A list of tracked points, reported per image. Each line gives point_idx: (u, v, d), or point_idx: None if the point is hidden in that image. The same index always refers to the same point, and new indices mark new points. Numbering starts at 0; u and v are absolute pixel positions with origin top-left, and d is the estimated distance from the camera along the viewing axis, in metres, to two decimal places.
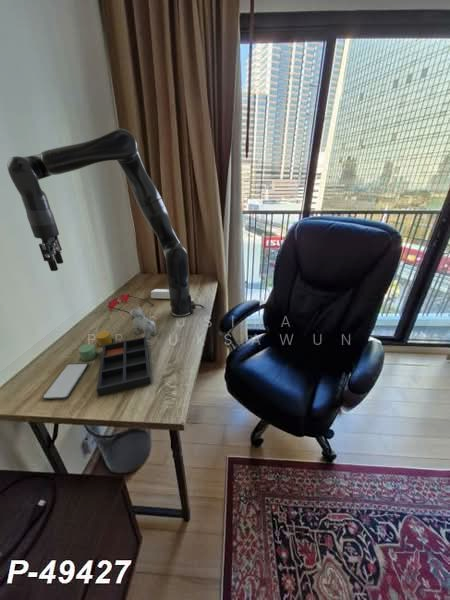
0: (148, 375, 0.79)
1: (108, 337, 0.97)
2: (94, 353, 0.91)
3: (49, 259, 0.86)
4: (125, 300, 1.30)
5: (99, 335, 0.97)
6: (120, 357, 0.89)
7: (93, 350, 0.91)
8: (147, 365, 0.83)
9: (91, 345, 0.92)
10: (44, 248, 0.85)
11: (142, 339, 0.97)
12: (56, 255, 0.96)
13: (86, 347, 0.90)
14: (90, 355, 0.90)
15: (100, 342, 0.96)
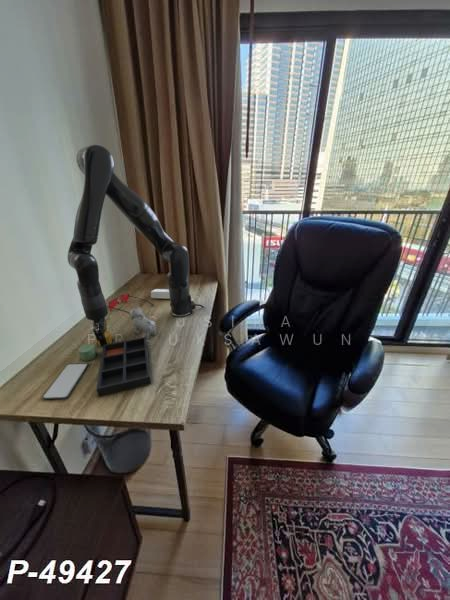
0: (148, 375, 0.79)
1: (108, 337, 0.97)
2: (94, 353, 0.91)
3: (101, 339, 0.93)
4: (125, 300, 1.30)
5: None
6: (120, 357, 0.89)
7: (93, 350, 0.91)
8: (147, 365, 0.83)
9: (91, 345, 0.92)
10: (98, 333, 0.90)
11: (142, 339, 0.97)
12: (102, 331, 1.00)
13: (86, 347, 0.90)
14: (90, 355, 0.90)
15: None
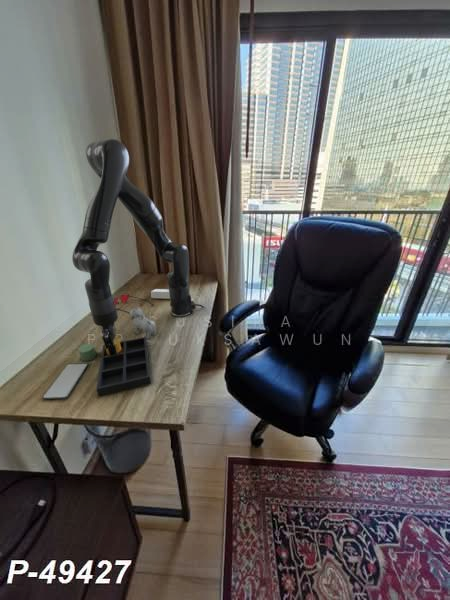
0: (148, 375, 0.79)
1: (117, 344, 0.89)
2: (94, 353, 0.91)
3: (111, 347, 0.84)
4: (125, 300, 1.30)
5: None
6: (120, 357, 0.89)
7: (93, 350, 0.91)
8: (147, 365, 0.83)
9: (91, 345, 0.92)
10: (107, 340, 0.82)
11: (142, 339, 0.97)
12: None
13: (86, 347, 0.90)
14: (90, 355, 0.90)
15: None
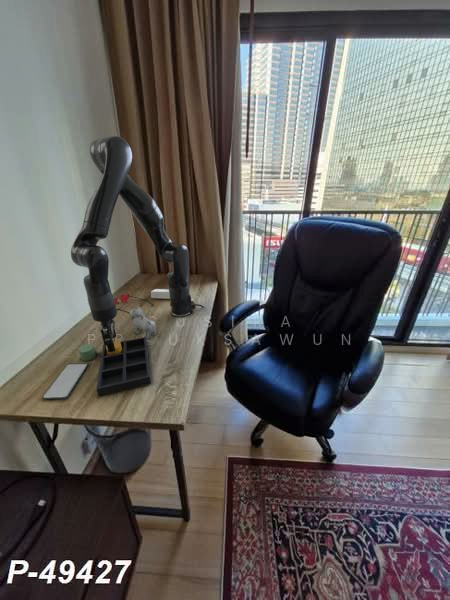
0: (148, 375, 0.79)
1: (119, 348, 0.90)
2: (94, 353, 0.91)
3: (109, 343, 0.82)
4: (125, 300, 1.30)
5: None
6: (120, 357, 0.89)
7: (93, 350, 0.91)
8: (147, 365, 0.83)
9: (91, 345, 0.92)
10: (105, 333, 0.80)
11: (142, 339, 0.97)
12: None
13: (86, 347, 0.90)
14: (90, 355, 0.90)
15: (111, 354, 0.89)
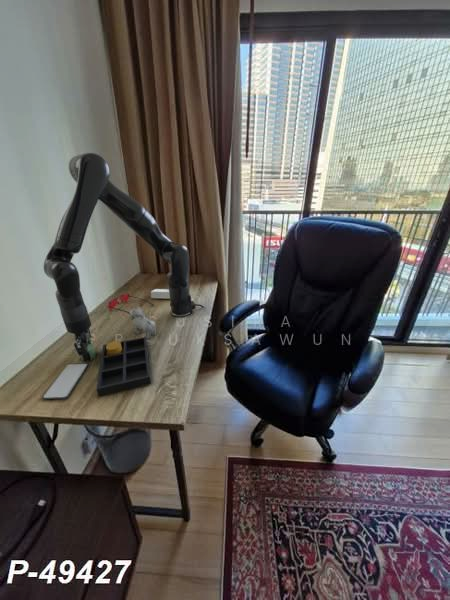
0: (148, 375, 0.79)
1: (119, 348, 0.90)
2: (94, 353, 0.91)
3: (84, 354, 0.85)
4: (125, 300, 1.30)
5: (109, 346, 0.90)
6: (120, 357, 0.89)
7: (93, 350, 0.91)
8: (147, 365, 0.83)
9: (91, 345, 0.92)
10: (79, 347, 0.83)
11: (142, 339, 0.97)
12: None
13: None
14: (90, 355, 0.90)
15: (111, 354, 0.89)
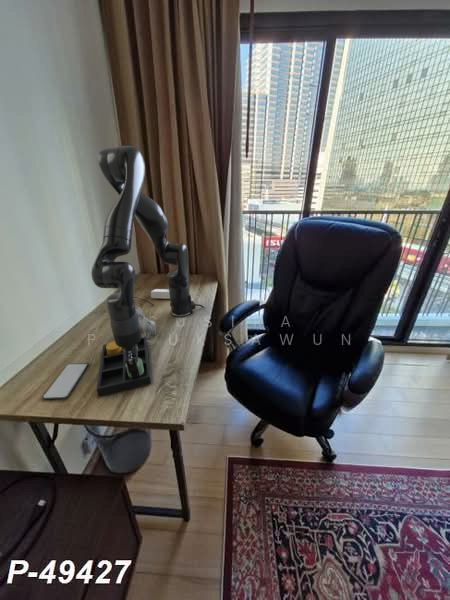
0: (148, 375, 0.79)
1: (119, 348, 0.90)
2: (142, 369, 0.80)
3: (134, 370, 0.74)
4: None
5: (109, 346, 0.90)
6: (120, 357, 0.89)
7: (141, 365, 0.80)
8: (147, 365, 0.83)
9: (139, 359, 0.81)
10: (131, 363, 0.72)
11: (142, 339, 0.97)
12: None
13: None
14: (139, 371, 0.79)
15: (111, 354, 0.89)
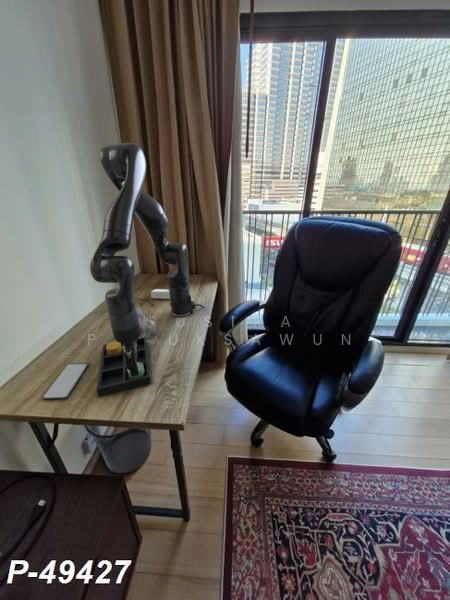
0: (148, 375, 0.79)
1: (119, 348, 0.90)
2: (143, 373, 0.81)
3: (133, 367, 0.72)
4: None
5: (109, 346, 0.90)
6: (120, 357, 0.89)
7: (143, 370, 0.81)
8: (147, 365, 0.83)
9: (140, 364, 0.82)
10: (130, 357, 0.70)
11: (142, 339, 0.97)
12: None
13: None
14: (140, 376, 0.80)
15: (111, 354, 0.89)
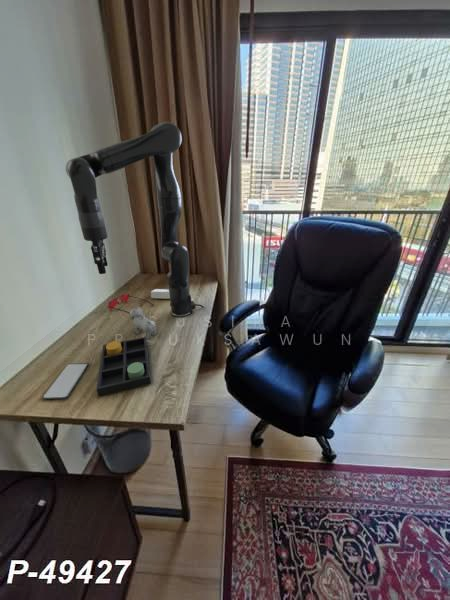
0: (148, 375, 0.79)
1: (119, 348, 0.90)
2: (143, 373, 0.81)
3: (100, 262, 0.85)
4: (125, 300, 1.30)
5: (109, 346, 0.90)
6: (120, 357, 0.89)
7: (143, 370, 0.81)
8: (147, 365, 0.83)
9: (140, 364, 0.82)
10: (96, 251, 0.83)
11: (142, 339, 0.97)
12: None
13: (135, 367, 0.80)
14: (140, 376, 0.80)
15: (111, 354, 0.89)
